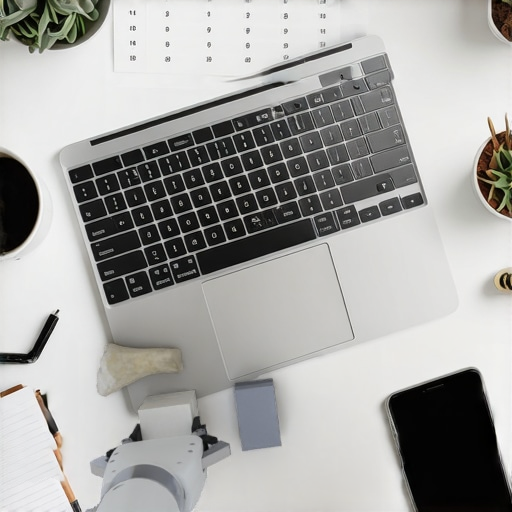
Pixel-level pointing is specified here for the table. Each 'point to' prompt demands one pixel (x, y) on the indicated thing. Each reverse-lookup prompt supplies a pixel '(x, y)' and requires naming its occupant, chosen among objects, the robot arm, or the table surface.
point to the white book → (166, 419)
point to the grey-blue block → (257, 414)
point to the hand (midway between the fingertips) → (170, 431)
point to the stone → (133, 365)
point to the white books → (174, 399)
